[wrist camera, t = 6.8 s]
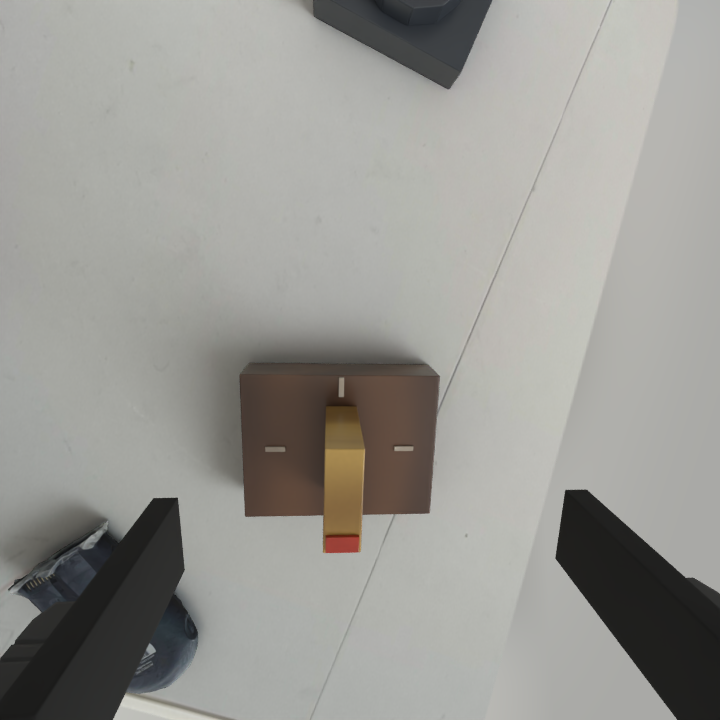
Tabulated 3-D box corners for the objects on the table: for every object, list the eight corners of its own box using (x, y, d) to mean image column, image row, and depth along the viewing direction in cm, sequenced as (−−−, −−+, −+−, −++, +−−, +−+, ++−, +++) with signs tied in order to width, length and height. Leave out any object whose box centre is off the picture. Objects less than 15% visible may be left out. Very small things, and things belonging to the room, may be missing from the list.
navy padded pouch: (33, 562, 36) (134, 695, 37) (-19, 602, 30) (103, 757, 31) (128, 501, 36) (224, 634, 38) (94, 529, 31) (208, 684, 32)
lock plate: (428, 364, 33) (440, 376, 29) (420, 489, 35) (430, 515, 32) (249, 362, 32) (238, 374, 28) (253, 491, 34) (244, 518, 30)
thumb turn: (325, 405, 29) (324, 450, 22) (356, 406, 29) (365, 451, 22) (324, 489, 30) (322, 556, 23) (353, 488, 31) (361, 555, 24)
